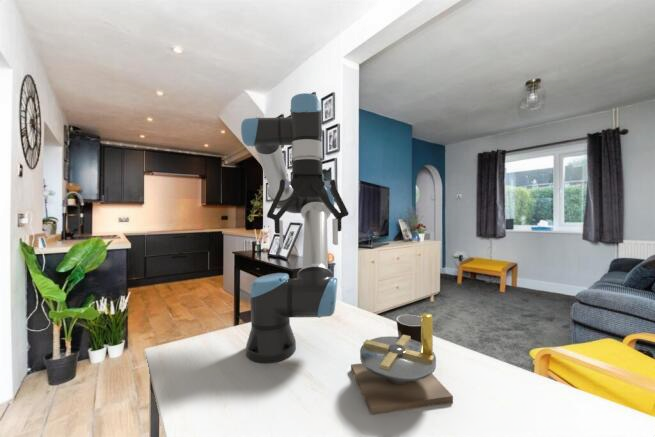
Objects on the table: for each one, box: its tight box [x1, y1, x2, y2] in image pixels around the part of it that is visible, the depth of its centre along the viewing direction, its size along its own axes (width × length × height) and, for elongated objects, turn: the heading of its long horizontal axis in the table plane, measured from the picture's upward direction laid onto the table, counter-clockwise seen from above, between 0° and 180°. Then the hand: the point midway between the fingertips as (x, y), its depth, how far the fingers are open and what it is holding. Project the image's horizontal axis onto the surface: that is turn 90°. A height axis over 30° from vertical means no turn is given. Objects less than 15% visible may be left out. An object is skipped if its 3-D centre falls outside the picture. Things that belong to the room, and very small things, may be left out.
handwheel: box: [359, 312, 437, 381], centre depth 70 cm, size 18×18×12 cm
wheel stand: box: [350, 362, 454, 415], centre depth 71 cm, size 17×19×6 cm
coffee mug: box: [395, 314, 421, 343], centre depth 87 cm, size 12×9×10 cm
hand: (308, 245), depth 72 cm, fingers open, 13 cm apart
